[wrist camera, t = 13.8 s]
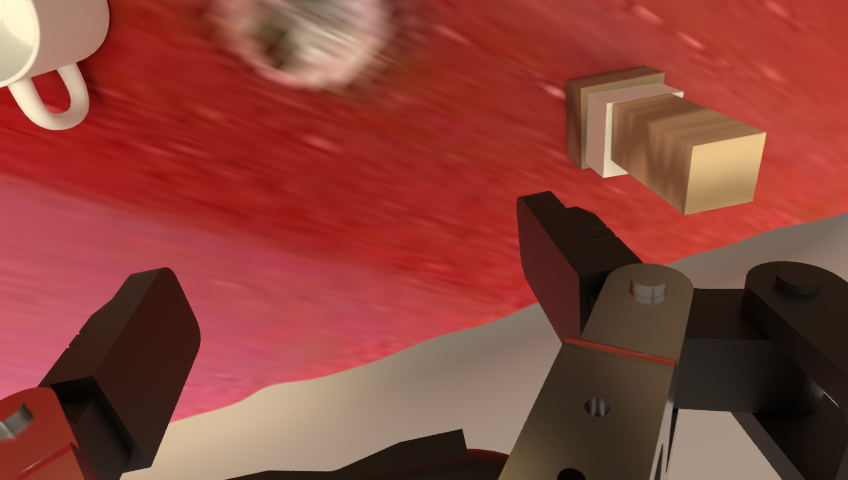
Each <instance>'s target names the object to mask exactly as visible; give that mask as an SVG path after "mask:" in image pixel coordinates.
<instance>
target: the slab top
mask: <svg viewBox="0 0 848 480" xmlns="http://www.w3.org/2000/svg"><path fill="white" fill-rule="evenodd" d="M683 92H684V91H681V90H678V89H675V88H673V87H670V86H667V85H664V84H662V83H654V84H647V85H641V86H634V87H628V88H621V89H615V90H608V91H602V92H596V93H589V94H588V110H587V142H586V164H587V165H588V166H590V167H591V168H592V169H593V170H594V171H596V172H597V173H598V174H599V175H600V176H602V177H603V178H605V177H611V176H617V175H623V174H629V173H628V172H626V171H625V170H624V169H622V168H621V167H619V166H618V165H617V164H615V163H614V162H613V161H611V141H612V118H613V104H614V103H620V102H625V101H630V100H636V99H641V98H647V97H652V96H657V95H663V94H668V93H671V94H674V95H676V96H679V97H681V98H683Z"/></svg>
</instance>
